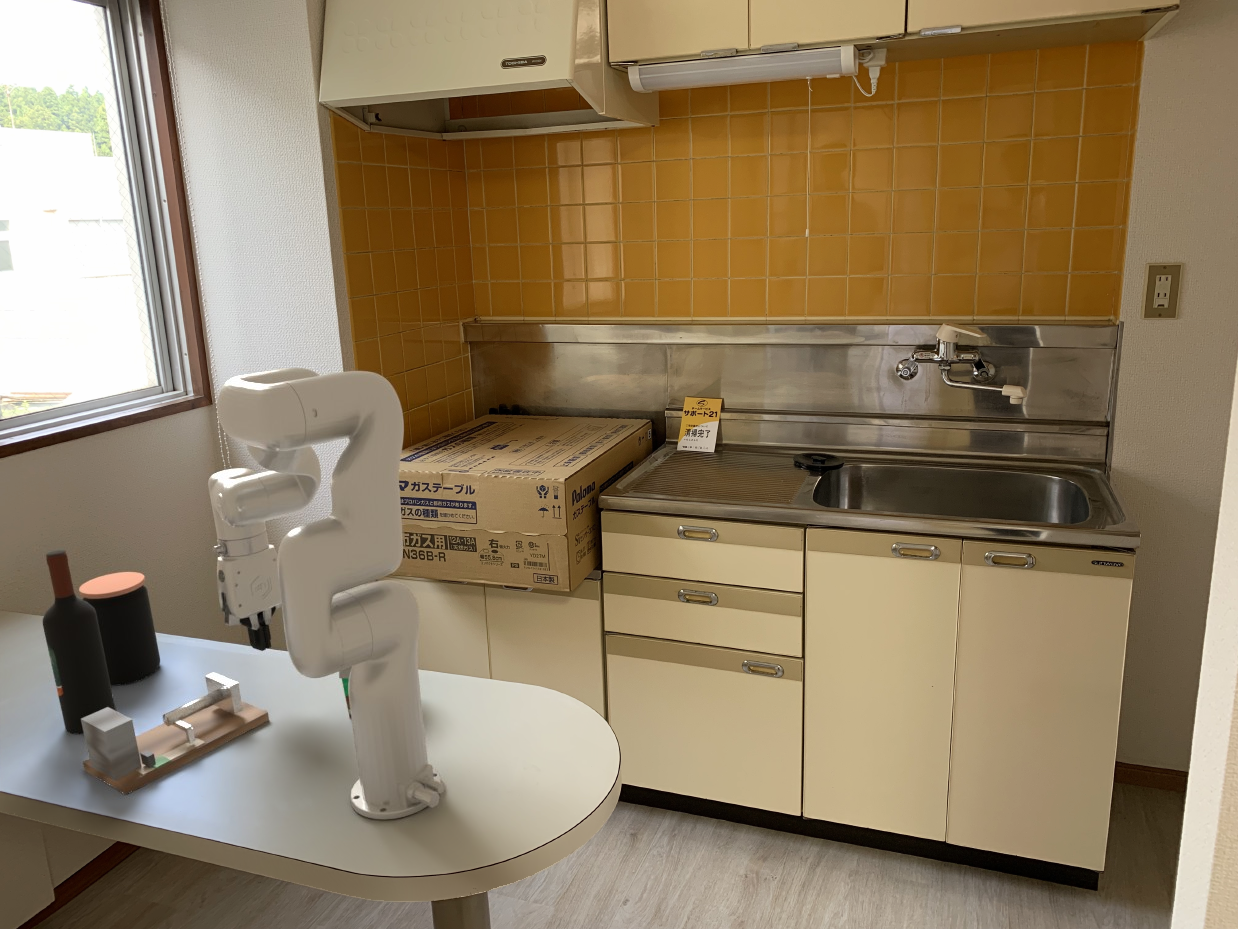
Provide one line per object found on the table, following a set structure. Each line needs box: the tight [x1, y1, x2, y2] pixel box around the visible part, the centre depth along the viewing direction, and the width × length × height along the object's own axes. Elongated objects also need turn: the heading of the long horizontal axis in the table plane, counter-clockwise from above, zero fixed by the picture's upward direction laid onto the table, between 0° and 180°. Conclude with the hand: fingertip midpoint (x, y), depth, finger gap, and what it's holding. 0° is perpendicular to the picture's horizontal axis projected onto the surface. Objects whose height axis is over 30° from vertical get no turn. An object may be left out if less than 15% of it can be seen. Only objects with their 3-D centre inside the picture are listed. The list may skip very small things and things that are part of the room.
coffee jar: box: [78, 571, 161, 686], centre depth 172 cm, size 11×11×18 cm
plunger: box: [162, 672, 243, 743], centre depth 150 cm, size 8×11×5 cm
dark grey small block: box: [140, 750, 156, 768], centre depth 140 cm, size 2×1×2 cm, turn 55°
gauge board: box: [81, 700, 270, 795], centre depth 148 cm, size 12×24×10 cm, turn 145°
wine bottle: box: [42, 549, 117, 735], centre depth 153 cm, size 8×8×30 cm
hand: (261, 647), depth 158 cm, fingers closed
